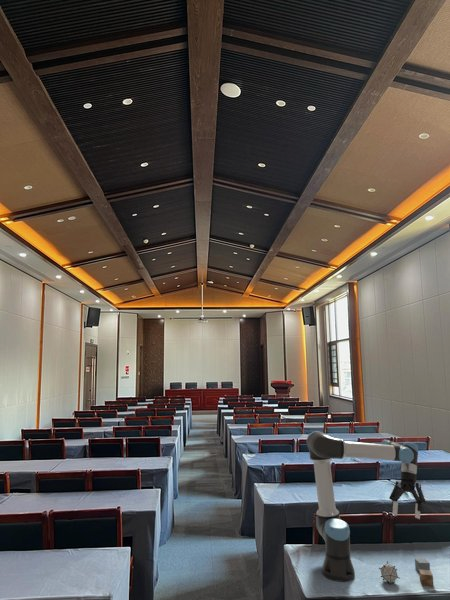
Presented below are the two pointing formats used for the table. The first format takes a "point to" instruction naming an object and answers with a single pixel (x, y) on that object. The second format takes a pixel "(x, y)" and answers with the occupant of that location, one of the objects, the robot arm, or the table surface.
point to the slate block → (421, 564)
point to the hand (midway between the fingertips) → (405, 516)
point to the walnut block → (426, 578)
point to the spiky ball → (389, 573)
